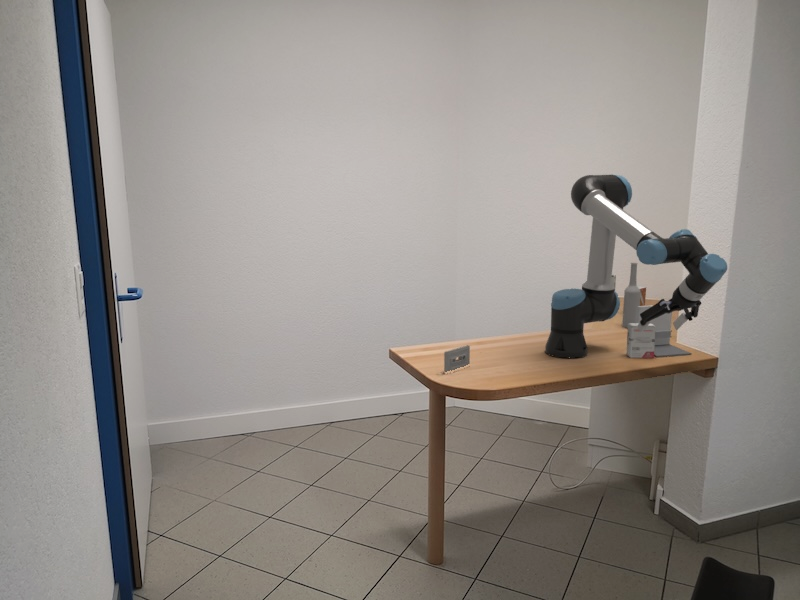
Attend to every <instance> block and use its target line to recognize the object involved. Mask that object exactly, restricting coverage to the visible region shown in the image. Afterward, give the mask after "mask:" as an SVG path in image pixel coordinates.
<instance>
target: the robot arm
mask: <svg viewBox="0 0 800 600" xmlns="http://www.w3.org/2000/svg"><path fill="white" fill-rule="evenodd" d="M632 196H633V189H632V185H631V183H630V182H629V181H628V179H627V178H626V177H625V176H623V175H618V174H587V175H584V176H582V177H580V178H578V179H577V180H576V181H575V183H573V185H572V187H571V191H570V199H571V202H572V204H573V205H574V207H575V208H576V209H577V210H579V211H580V212H581V213H582V214H584V215H585V216H590V217H592V221H591V222H592V224H591V233H590V234H591V235H590V243H589V253H588V254H589V255H588V265H587V267H588V268H587V275H586V281H585V282H584V283H583V284H581V288H564V289H561V290H557V291H556V292H554V293H553V294H552V297H551V303H550V305H551V306H550V307H551V309H550V310H551V312H550V317H551V318H550V332H549V335H548V338H547V340H546V343H545V346H544V347H545V348H544V352H545V354H547V353H548V354H550V355H549V356H551V355H553V356H552V357H554V356H557V357H556V358H560V357H567V358H566V359H576V358H575V357H581V358H584V357H587V355H588V345H587V342H586V338H585V334H584V324H589V323H595V322H605V321H607V320H611V319H613V318H614V317H616V315H617V314H618V313H619V310H620V305H621V301H620V300H621V299H620V297H619V294H618V293H617V291H616V286H615V287H614V286H613V285H612V284H611V278H612V275H613V267H614V260H615V259H614V258H615V257H614V256H615V248H616V241H617V240H616V239H617V237H618V238H620V239H621V240H622V241H624V242H625V243H626V244H627V245H629V246H630V247H631V248H632V249H634V250H635V251H636V257H637V258H638V260H639V262H640V263H642V264H644V265H650V266H651V265H652V266H657V265H664V264H670V263H681V264H682V265H683V267H684V268H685V269H686V270H687V272H688V275H687V276H686V277H685V278H684V279H683V280H682V281H681V283H680V284H679V285H678V286H677V287H676V289H674V291H673V292H672V297H671V298H670V299H668V300H665V299H664V298H661V299H660V300H659V301H658V302H656V303H655V304H653V306H652V307H650V308H649V309H647V310H645V311H644V312H642V313H641V314H640V316H641V318H642V320H641V321H640V323H639V324H638V325H637V326H638V328H639V331H640V332H643V331H644V329H645V328H646V327H647V326H648V325H649V324H650V323H651V320H653V319H655V318H657V317H659V316H661V315H663V314H665V313H668V314H669V313H671V312H672V313H673V312H680V311H684V312H681V314H680V315H678V316H677V318H676V319H675V320H674V321H673V322H672V324H673V327H674V329H675V330H679V329H680V328H681V327H682V326H683V325H684V324H685V323H686V322H687V321H689V322H690V321H693V318H697V317H698V315H699V309H700V307H701V305H702V302H701V299H702V298H703V297H704V296H705V295H706V294H707V293H708V292H709V291H710V290H711V289H712V288H713V287H714V286H715V285H716V284H717V283H718V282H719V281H721V279H722V277H723V276H724V275H726V272H727V271H728V264H727V261H726V260H725V259H724V258H723V257H721V256H720V255H718V254H716V253H708V252H707V251H706V249H705V248H704V246H703V245H702V243H701V242H700V241H699V240H698V237H696V236H695V235H694V234H693V232H692V231H691V230H689V229H688V228H683V229H681V230H677V231H674V233H672V234H671V235H670V236H669V237H668V238H664V237H662V236H660V235H658V234H657V233H656V232H654V231H653V230H651V229H650V228H649V227H648V226H646V225H645V224H643V223H642V222H640V221H639V219H636V218H635V217H634V216H632V215H631V214H630V213H628V212H627V211H626V210H624V208H626V206H628V205H629V203H630V202H631V200H632V198H633V197H632ZM614 290H615V291H614ZM667 305H668V306H669V308H670V310H668V308H667ZM689 309H690V311H689ZM548 354H547V355H548ZM583 356H584V357H583ZM568 357H570V358H568Z"/></svg>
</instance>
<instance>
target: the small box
mask: <svg viewBox="0 0 800 600" xmlns="http://www.w3.org/2000/svg"><path fill="white" fill-rule="evenodd" d="M637 287H638V288H639V290H640V306H646V297H647V287H646V286H640V285H639V286H638V285H637Z"/></svg>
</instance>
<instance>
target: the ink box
mask: <svg viewBox="0 0 800 600" xmlns="http://www.w3.org/2000/svg"><path fill="white" fill-rule="evenodd" d="M638 324H639V323H628V328H627V339H626V355H627V356H628V357H629V358H630V359H636V358H637V359H638V358H639V359H641V358H642V359H644V358H645V359H647V358H648V359H654V357H655V356H654V346H655V328H656V326H655V325H653V324H651V323H650V324H649V325H648V326H647V327H646V328H645V329H644V331H643V332H640V331H639V328H638V326H637V325H638Z"/></svg>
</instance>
